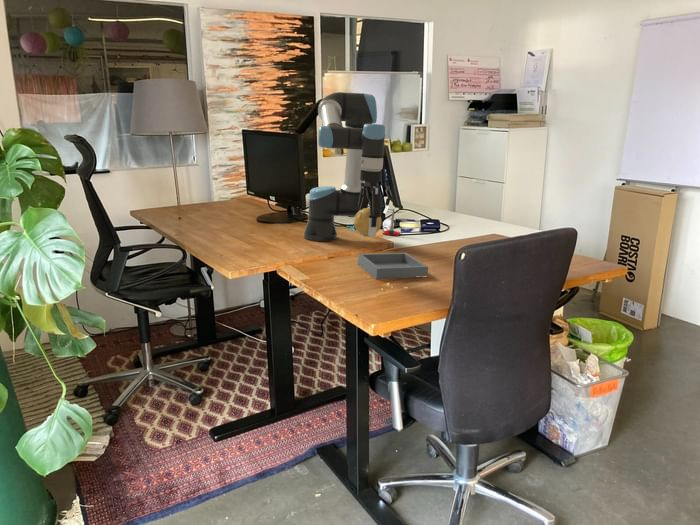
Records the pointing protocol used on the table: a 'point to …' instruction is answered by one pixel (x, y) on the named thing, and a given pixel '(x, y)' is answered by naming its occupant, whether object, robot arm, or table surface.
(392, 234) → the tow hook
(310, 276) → the table surface
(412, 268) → the tray
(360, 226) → the stress ball
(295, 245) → the table surface
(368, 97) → the robot arm
